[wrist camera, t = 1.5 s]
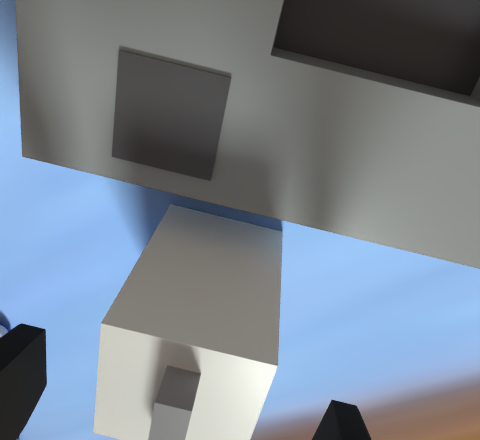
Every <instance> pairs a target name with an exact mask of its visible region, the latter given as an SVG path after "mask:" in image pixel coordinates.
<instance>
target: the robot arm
mask: <svg viewBox="0 0 480 440" xmlns="http://www.w3.org/2000/svg"><path fill="white" fill-rule="evenodd" d="M46 385H47V376H46V332H45V329H42V328H38V327H34V326H30V325H26V324H19V325H17V326H16V327H15V328H13V329H12V330H10V331H9V332H8V331H7V329H6V328H5V327H3V326H2V325H0V440H17V438H18V437H19V435H20V433H21V432H22V430H23V429H24V427H25V426H26V424H27V422H28V420H29V418H30V416H31V414H32V412H33V411H34V409H35V407H36V405H37V403H38V401H39V399H40V397H41V395H42V393H43V391H44V389H45V387H46ZM312 440H371V437H370V435H369V433H368V430H367V428H366V426H365V423H364V421H363V419H362V416H361V414H360V412H359V409H358V408H357V406H355V405H351V404H347V403H343V402H339V401H335V400H332V401H331V403H330V405H329V407H328V409H327V411H326V413H325V415H324V417H323V419H322V421H321V423H320V425H319V427H318V429H317V431H316V433H315V435H314V437H313V439H312Z"/></svg>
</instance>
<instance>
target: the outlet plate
mask: <svg viewBox="0 0 480 440" xmlns="http://www.w3.org/2000/svg"><path fill="white" fill-rule="evenodd" d="M15 4H16V26H17V49H18V71H19V93H20V116H21V138H22V157H26V158H30V159H34V160H38V161H43V162H47V163H51V164H55V165H59V166H63V167H67V168H71V169H75V170H79V171H83V172H87V173H91V174H96V175H100V176H104V177H108V178H112V179H116V180H120V181H124V182H128V183H132V184H136V185H140V186H145V187H149V188H153V189H157V190H161V191H165V192H169V193H173V194H177V195H181V196H185V197H189V198H193V199H198V200H202V201H206V202H210V203H214V204H218V205H222V206H226V207H230V208H234V209H238V210H242V211H246V212H251V213H255V214H259V215H263V216H267V217H271V218H275V219H279V220H283V221H287V222H291V223H295V224H300V225H304V226H308V227H312V228H316V229H320V230H324V231H328V232H332V233H336V234H340V235H344V236H348V237H353V238H357V239H361V240H365V241H369V242H373V243H377V244H381V245H385V246H389V247H393V248H397V249H401V250H406V251H410V252H414V253H418V254H422V255H426V256H430V257H434V258H438V259H442V260H446V261H450V262H454V263H459V264H463V265H467V266H471V267H475V268H479V269H480V0H15Z"/></svg>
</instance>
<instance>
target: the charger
mask: <svg viewBox="0 0 480 440" xmlns="http://www.w3.org/2000/svg"><path fill="white" fill-rule="evenodd" d="M282 236H283V232H282V231H278V230H274V229H269V228H265V227H261V226H257V225H253V224H249V223H245V222H241V221H237V220H233V219H229V218H225V217H220V216H216V215H212V214H208V213H204V212H200V211H196V210H192V209H188V208H184V207H180V206H176V205H171V204H170V206H169V208H168V209H167V211H166V213H165V215H164V216H163V218H162V220H161V221H160V223H159V225H158V227H157V228H156V230H155V232H154V233H153V235H152V237H151V239H150V240H149V242H148V244H147V245H146V247H145V249H144V251H143V252H142V254H141V256H140V257H139V259H138V261H137V263H136V264H135V266H134V268H133V269H132V271H131V273H130V275H129V276H128V278H127V280H126V281H125V283H124V285H123V287H122V288H121V290H120V292H119V293H118V295H117V297H116V299H115V300H114V302H113V304H112V305H111V307H110V309H109V311H108V312H107V314H106V316H105V317H104V319H103V321H102V323H101V332H100V346H99V361H98V375H97V390H96V404H95V418H94V433H96V434H100V435H104V436H108V437H113V438H117V439H121V440H250V439H251V436H252V433H253V431H254V428H255V425H256V423H257V420H258V417H259V415H260V412H261V409H262V407H263V404H264V401H265V399H266V396H267V393H268V391H269V388H270V385H271V383H272V380H273V378H274V375H275V372H276V370H277V367H278V346H279V319H280V291H281V263H282Z"/></svg>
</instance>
